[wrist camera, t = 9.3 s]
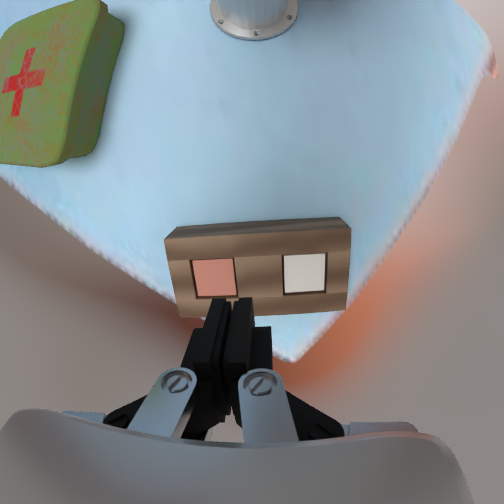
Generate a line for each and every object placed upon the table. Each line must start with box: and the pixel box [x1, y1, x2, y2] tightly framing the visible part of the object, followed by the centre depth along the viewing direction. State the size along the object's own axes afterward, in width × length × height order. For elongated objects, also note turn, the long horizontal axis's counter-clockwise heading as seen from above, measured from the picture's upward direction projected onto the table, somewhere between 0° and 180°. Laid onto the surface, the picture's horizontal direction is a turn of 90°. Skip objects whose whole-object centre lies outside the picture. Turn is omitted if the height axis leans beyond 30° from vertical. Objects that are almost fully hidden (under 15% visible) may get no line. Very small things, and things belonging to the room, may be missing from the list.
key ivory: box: [282, 253, 325, 293], centre depth 38 cm, size 5×5×4 cm
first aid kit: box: [0, 0, 124, 168], centre depth 28 cm, size 26×26×10 cm
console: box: [164, 217, 351, 317], centre depth 39 cm, size 12×24×6 cm, turn 94°
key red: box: [192, 258, 238, 296], centre depth 39 cm, size 5×5×4 cm
